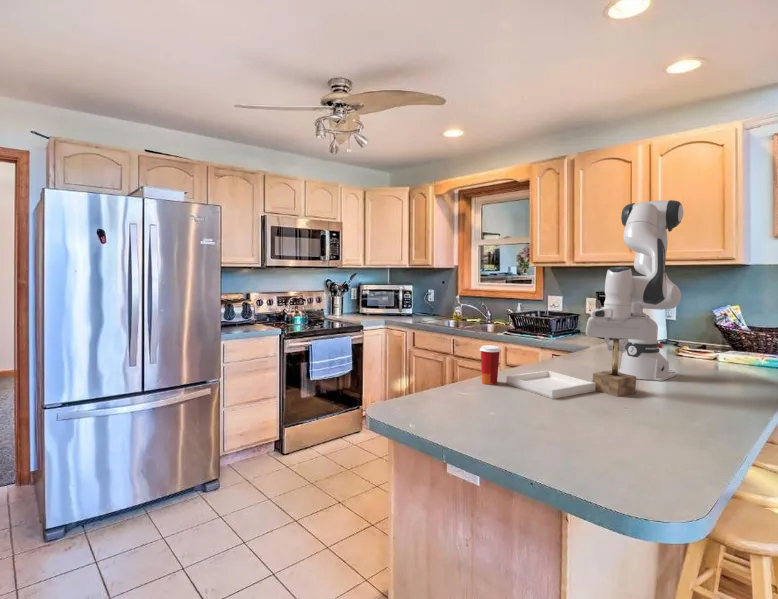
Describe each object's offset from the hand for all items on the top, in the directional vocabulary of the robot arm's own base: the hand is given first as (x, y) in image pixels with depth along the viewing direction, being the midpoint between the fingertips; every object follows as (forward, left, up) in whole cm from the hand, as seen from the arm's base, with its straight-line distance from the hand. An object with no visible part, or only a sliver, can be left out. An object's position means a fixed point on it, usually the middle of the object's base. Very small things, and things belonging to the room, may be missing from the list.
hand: (615, 350), depth 162 cm
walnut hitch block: (0, 0, -15) cm, 15 cm away
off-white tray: (+17, -14, -15) cm, 27 cm away
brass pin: (0, 0, -10) cm, 10 cm away
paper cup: (+33, -29, -15) cm, 47 cm away
